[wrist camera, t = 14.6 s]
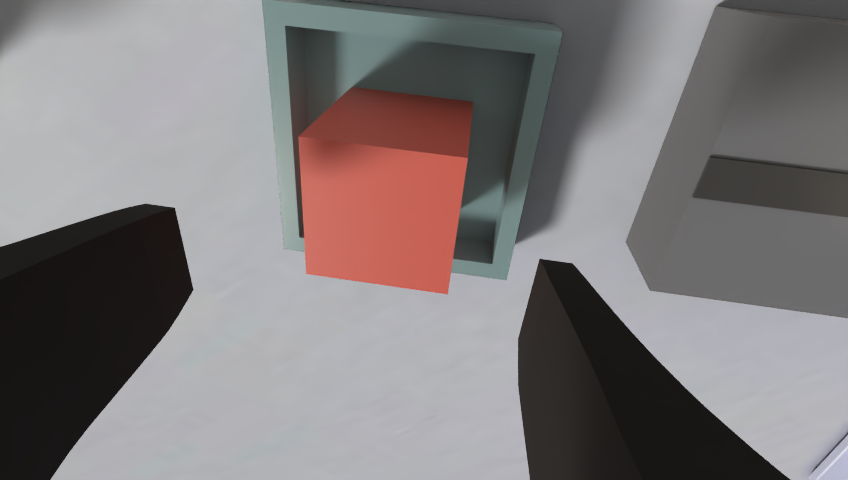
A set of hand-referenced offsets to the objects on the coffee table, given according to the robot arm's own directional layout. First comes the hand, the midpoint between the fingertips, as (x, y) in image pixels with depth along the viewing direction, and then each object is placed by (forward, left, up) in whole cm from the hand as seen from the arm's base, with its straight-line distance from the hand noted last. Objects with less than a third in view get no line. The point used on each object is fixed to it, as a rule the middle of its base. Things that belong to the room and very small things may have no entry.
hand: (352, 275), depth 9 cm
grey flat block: (-13, -1, -8) cm, 15 cm away
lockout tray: (0, 0, -8) cm, 8 cm away
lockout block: (0, 0, -8) cm, 8 cm away
